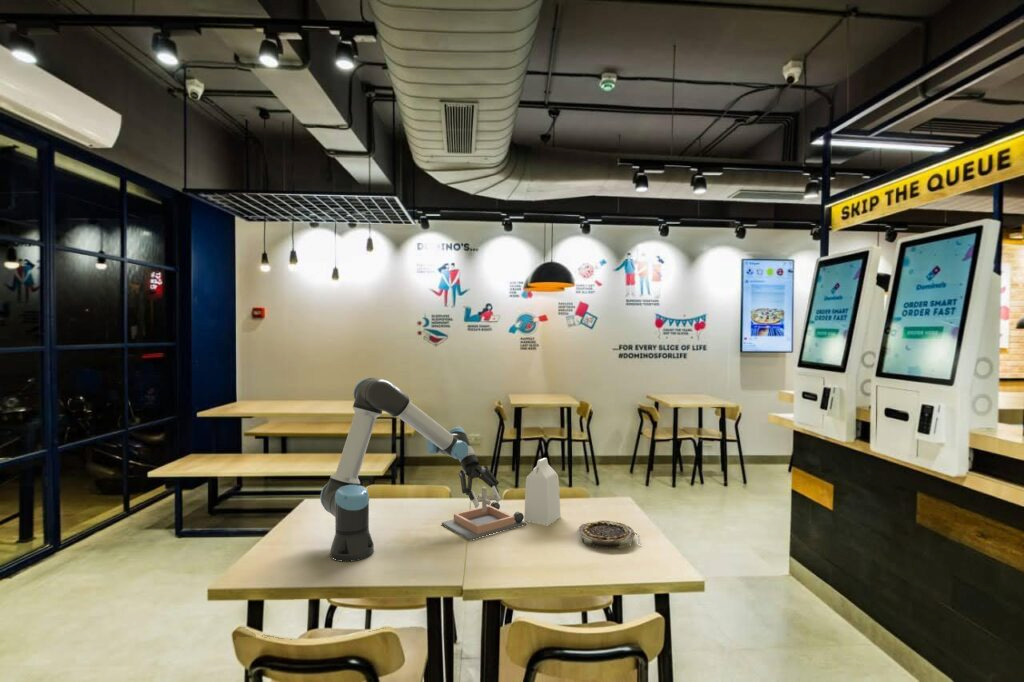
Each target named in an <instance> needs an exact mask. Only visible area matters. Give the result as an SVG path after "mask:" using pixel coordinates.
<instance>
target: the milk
mask: <svg viewBox="0 0 1024 682" xmlns="http://www.w3.org/2000/svg"><path fill="white" fill-rule="evenodd" d="M559 480H560V479H559V475H558V473H557V472H556V471H555V470H554V469H553V467H551V465H550V464H549V462H548V458H547V457H543V458H540V459H538V460H537V463H536V466H535V467H534V468H532V471H530V473H529V474H528V475H527V476H526V478H525V493H524V494H525V495H524V496H525V497H524V514H523V516H524V518H523V521H524V522H527V521H530V522H529V523H531V522H534V523H533V524H536V523H539V524H538V525H541V524H542V525H541V526H546V525H547V526H546V527H549V526H551V523H552V524H554V523H555V522H556V521H558V520H559V519H561V518H562V515H561V514H562V513H561V501H560V499H561V497H560V481H559ZM560 517H561V518H560ZM558 518H559V519H558ZM557 519H558V520H557ZM554 521H555V522H554ZM548 525H549V526H548Z"/></svg>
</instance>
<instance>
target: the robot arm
mask: <svg viewBox="0 0 1024 682" xmlns="http://www.w3.org/2000/svg"><path fill="white" fill-rule="evenodd" d="M353 398H354V402H353V405H352V409H353V411H354V415H353V417H352V420H351V424H350V427H349V430H348V434H347V437H346V440H345V443H344V446H343V450H342V453H341V456H340V458H339V462H338V464H337V468H336V470H335V472H334V473H333V474H331V475H330V477H329V480H328V482H327V483H326V484H325V485H324V486H323V487H322V489H321V492H320V495H319V496H320V497H319V499H320V503H321V505H322V507H323V508H324V510H325V511H326V512H328V513H329V514H331V515H332V516H333V517H334V519H335V520H334V521H335V533H334V537H333V540H332V543H331V547H330V553H329V554H330V555H331V556H330V555H329V556H330V558H331V557H332V558H334V559H336V560H335V561H337V560H342V561H341V562H352V561H351V560H356V561H359V560H358V559H360V560H362V559H361V558H363V559H366V558H368V557H369V555H370V554H371V555H372V554H373V553H374V551H375V549H374V545H375V544H374V541H373V538H372V535H371V533H370V527H369V526H370V523H369V520H370V519H369V518H370V516H369V514H370V509H369V508H370V495H369V490H368V489H367V488H366V487H365V486H363V485H361V481H360V479H359V475H360V472H361V469H362V465H363V462H364V459H365V456H366V452H367V450H368V445H369V442H370V439H371V436H372V433H373V430H374V427H375V423H376V421H377V418H379V417H380V416H382V414H383V412H385V413H387V414H389V415H390V416H392V417H393V418H399V419H400V420H401V421H403V422H404V423H405V424H407V425H408V426H410V428H412V429H414V431H416V432H417V433H419V435H422V436H423V437H424V438H426V442H425V446H426V450H427V452H428V453H429V454H431V455H433V454H435V455H436V454H442V455H445V456H448V457H451V458H453V459H454V460H458V461H459V463H460V465H461V468H462V469H461V470H460V471H459V473H458V476H459V478H460V485H461V493H462V494H463V495H464V494H465V495H466V496H468V497H469V500H470V501H472V503H473V505H474V509H476V508H479V506H480V502H478V500H477V498H478V496H476V493H475V491H474V490H472V487H473V486H472V485H473V479H475V478H476V479H479V480H481V481H483V482H484V483H485V484H487V486H488V487H490V488H491V489H490V491H491V493H492V496H494V495H495V496H496V500H495V502H497V503H499V502H500V501H501V495H500V494H499V492H500V491H499V489H498V487H497V486H498V485H499V484H500V482H499V481H498V479H497V477H495V476H494V475H493V473H492V472H491V470H490V469H489V467H488V465H486V464H485V465H483V466H481V465H480V462H479V459H478V457H477V456H476V453H475V450H474V449H473V446H472V445H471V443H470V440H469V438H468V436H467V435H468V434H467V433H466V432H465V430H464V428H463V427H461V426H456V427H453V428H451V429H450V430H447V429H446V428H444V427H443V426H442V425H441V424H440V423H438V422H437V421H435V420H434V419H433V418H432V417H430V416H429V414H427V413H426V412H424V411H423V410H422V409H420V408H419V407H418V406H417V405H415V404H414V403H413V402H412V401H411V398H410V396H408V395H407V394H406V393H405V392H403V391H402V390H401V388H399V387H397V385H395V384H394V383H393V382H391V381H389V380H386V379H382V378H376V377H367V378H364V379H362V380H360V381H358V382H357V383H356V385H355V386H354V388H353ZM466 476H467V480H466ZM371 555H370V556H371ZM367 556H368V557H367ZM365 557H366V558H365ZM332 558H331V559H332ZM334 559H333V560H334Z"/></svg>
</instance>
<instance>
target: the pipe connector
mask: <svg viewBox="0 0 1024 682" xmlns="http://www.w3.org/2000/svg"><path fill="white" fill-rule="evenodd" d="M477 500H478V502H479V503H481V505H482V506H481V507H482V512H486V511H487V506H489V505H491V503H492V502H491V501H496V496H495V495H494V496H493V495H489V496H487V487H486V486H482V487H481V493H478V495H477Z"/></svg>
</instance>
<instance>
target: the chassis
mask: <svg viewBox="0 0 1024 682" xmlns="http://www.w3.org/2000/svg"><path fill="white" fill-rule="evenodd" d="M486 506H487V511H486V512H482V506H481V507H477V508H473V509H468V510H464V511H461V512H455V513H453V519H449V520H446V521H442V522H441V525H442V524H443V525H445V526H446V527H445V526H444V527H445V528H447V527H448V528H449V529H448V528H447V529H448V530H450V529H451V531H452V530H453V531H454V532H453V531H452V532H453V533H455V532H456V534H457V533H458V534H457V535H459V536H460V535H461V537H463V538H464V539H465V540H468V541H469V540H472V541H474V540H473V539H475V540H477V539H476V538H479V537H482V536H486V535H489V534H493V533H496V532H500V531H503V530H507V529H510V530H512V529H511V528H514V527H517V528H519V527H518V526H521V527H523V526H522V525H524V526H526V525H527V521H524V514H523V513H522V512H520V511H515V513H514V514H513V515H512V514H510V513H507V512H505V511H504V510H501V505H500V503H499V502H498V503H497V502H496V501H492V502H491V504H490V505H486ZM443 525H442V526H443ZM514 529H515V528H514ZM507 531H508V530H507ZM503 532H504V531H503ZM500 533H501V532H500ZM496 534H497V533H496ZM493 535H494V534H493ZM489 536H490V535H489ZM486 537H487V536H486ZM482 538H483V537H482ZM479 539H480V538H479Z"/></svg>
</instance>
